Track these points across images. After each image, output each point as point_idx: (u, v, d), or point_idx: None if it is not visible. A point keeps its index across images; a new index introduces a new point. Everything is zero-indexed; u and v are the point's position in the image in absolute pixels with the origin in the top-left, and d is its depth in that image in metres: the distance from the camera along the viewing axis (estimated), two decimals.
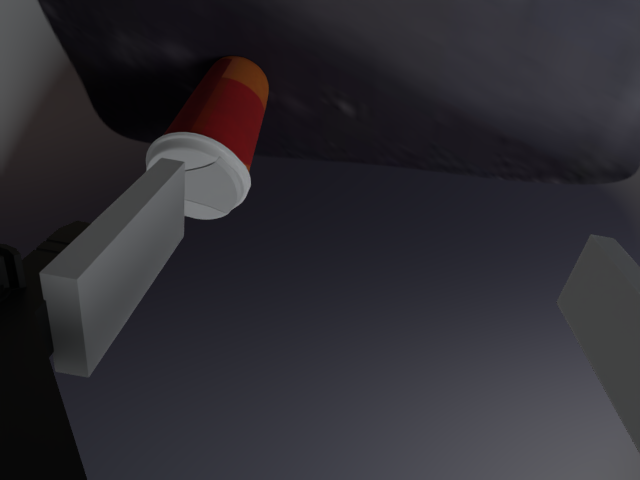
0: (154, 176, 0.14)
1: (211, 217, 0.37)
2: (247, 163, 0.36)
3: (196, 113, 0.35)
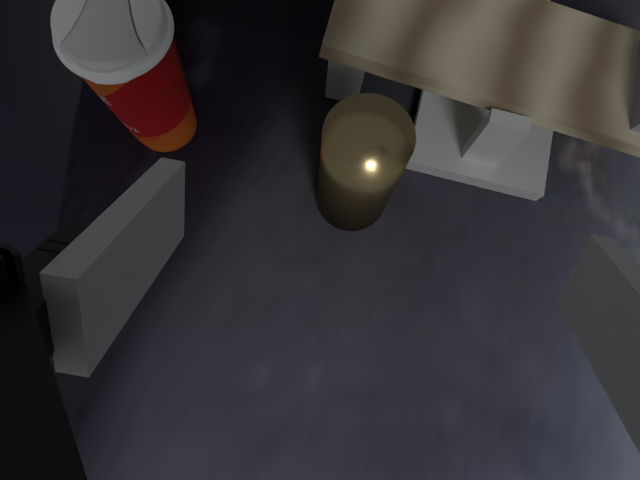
0: (154, 176, 0.14)
1: (54, 25, 0.30)
2: (119, 89, 0.32)
3: (177, 55, 0.34)
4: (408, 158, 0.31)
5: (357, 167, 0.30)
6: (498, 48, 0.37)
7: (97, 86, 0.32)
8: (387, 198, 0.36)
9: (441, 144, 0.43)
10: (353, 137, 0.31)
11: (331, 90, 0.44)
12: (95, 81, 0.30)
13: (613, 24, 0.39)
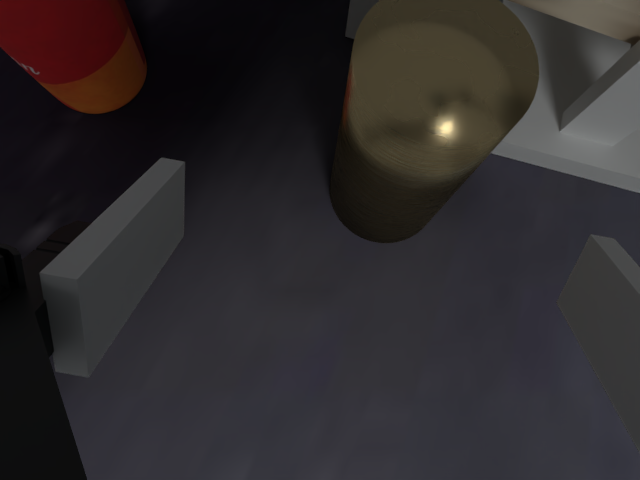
0: (154, 176, 0.14)
1: None
2: None
3: None
4: (525, 107, 0.15)
5: (423, 122, 0.15)
6: None
7: None
8: (456, 190, 0.21)
9: None
10: (414, 64, 0.15)
11: (355, 24, 0.28)
12: None
13: None
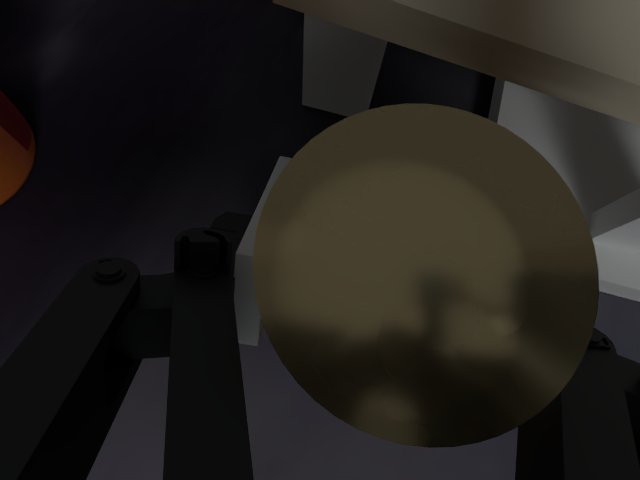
0: None
1: None
2: None
3: None
4: (576, 356, 0.08)
5: (383, 395, 0.08)
6: None
7: None
8: None
9: None
10: (369, 269, 0.08)
11: (314, 91, 0.21)
12: None
13: None
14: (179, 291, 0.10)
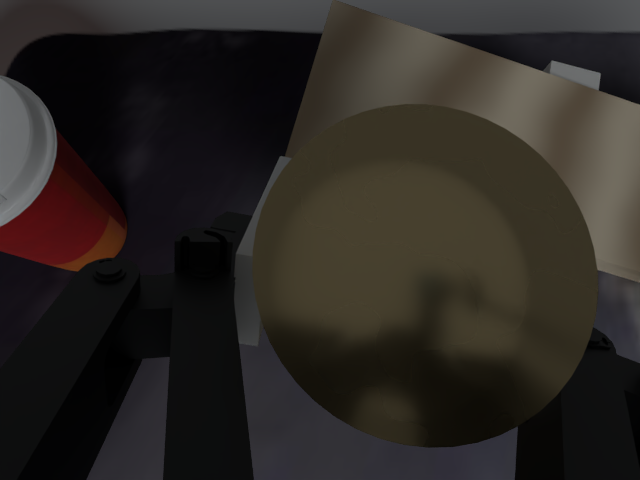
0: None
1: None
2: None
3: (75, 174, 0.24)
4: (575, 356, 0.08)
5: (382, 395, 0.08)
6: None
7: None
8: None
9: None
10: (368, 269, 0.08)
11: None
12: None
13: None
14: (179, 291, 0.10)
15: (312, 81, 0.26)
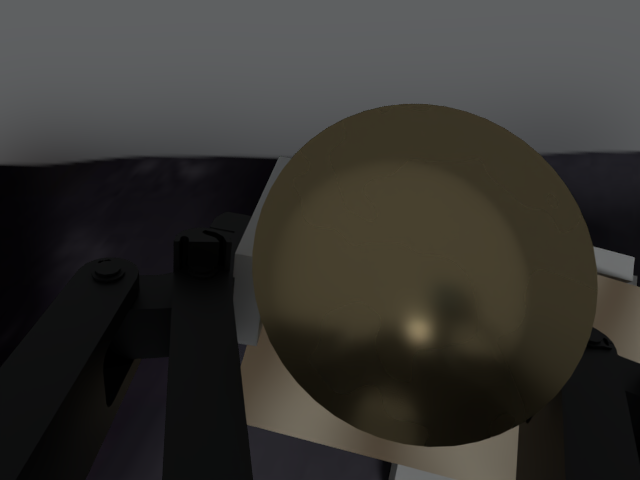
0: None
1: None
2: None
3: None
4: (575, 355, 0.08)
5: (383, 395, 0.08)
6: None
7: None
8: None
9: None
10: (368, 269, 0.08)
11: None
12: None
13: None
14: (178, 291, 0.10)
15: None
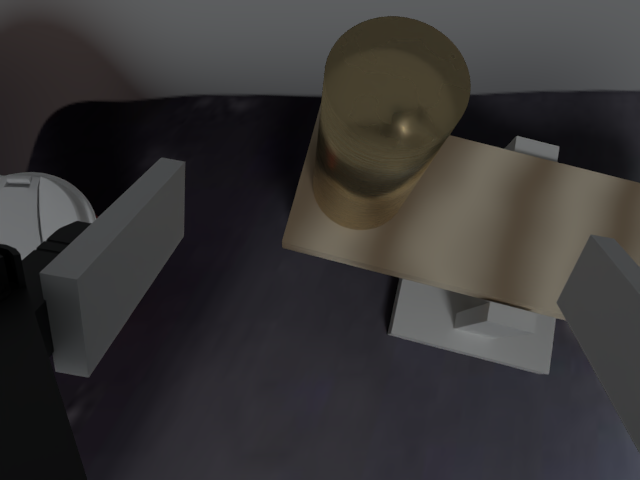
0: (154, 176, 0.14)
1: None
2: None
3: None
4: (459, 115, 0.20)
5: (379, 128, 0.19)
6: (493, 229, 0.31)
7: None
8: (415, 183, 0.25)
9: (430, 311, 0.37)
10: (373, 82, 0.20)
11: None
12: None
13: (637, 185, 0.32)
14: None
15: (304, 173, 0.31)
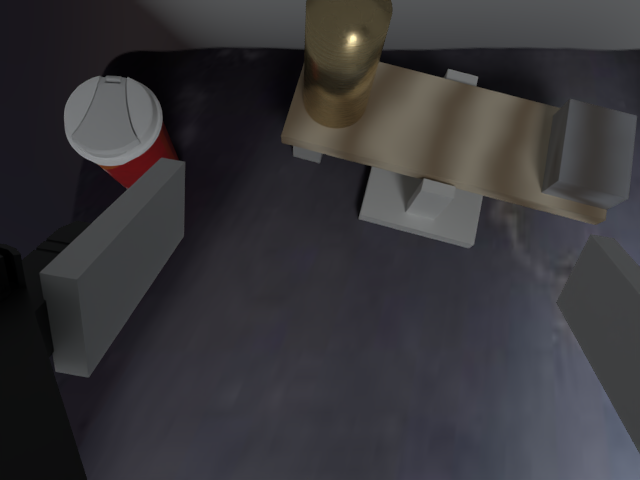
0: (154, 176, 0.14)
1: (66, 120, 0.38)
2: (118, 167, 0.40)
3: (166, 135, 0.42)
4: (384, 27, 0.33)
5: (337, 33, 0.33)
6: (428, 129, 0.45)
7: None
8: (367, 84, 0.39)
9: (389, 200, 0.50)
10: (334, 7, 0.34)
11: (297, 152, 0.52)
12: (99, 163, 0.38)
13: (531, 102, 0.46)
14: None
15: (297, 91, 0.45)
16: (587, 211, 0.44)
